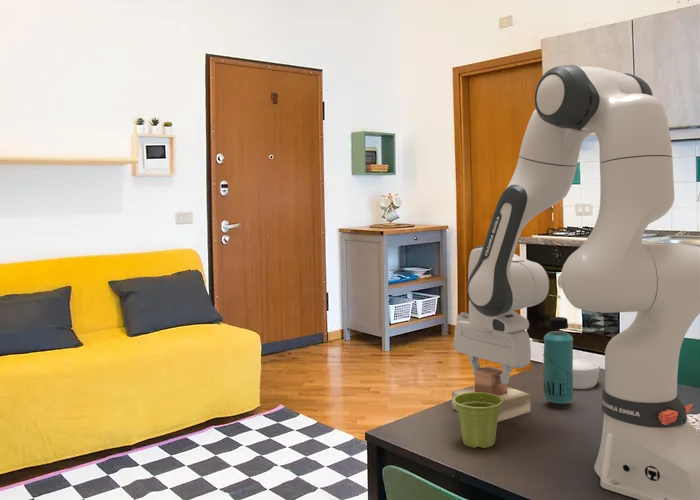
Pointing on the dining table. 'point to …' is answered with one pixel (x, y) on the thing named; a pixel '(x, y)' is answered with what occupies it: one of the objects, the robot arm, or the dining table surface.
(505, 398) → the birch base
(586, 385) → the ramekin
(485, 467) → the dining table surface
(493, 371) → the terracotta cube
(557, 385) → the beverage bottle
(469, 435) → the plant pot
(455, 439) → the dining table surface
